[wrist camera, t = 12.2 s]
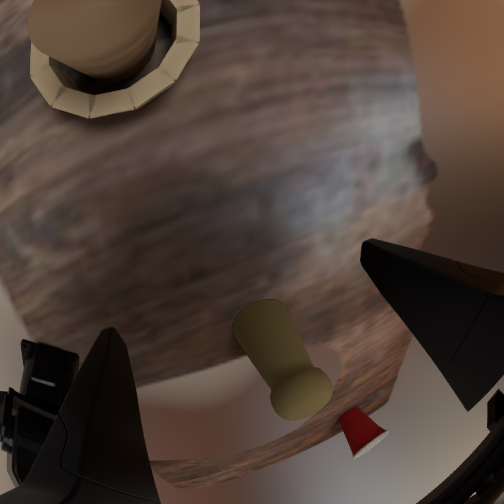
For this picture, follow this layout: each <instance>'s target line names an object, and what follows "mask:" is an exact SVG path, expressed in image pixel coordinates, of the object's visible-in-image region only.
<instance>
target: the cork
mask: <svg viewBox="0 0 504 504" xmlns="http://www.w3.org/2000/svg"><path fill="white" fill-rule="evenodd" d="M232 332H233V334H234V336H235V338H236V339H237V341H238V342H239V344H240V345H241V347H242V348H243V350H244V351H245V353H246V354H247V356H248V357H249V359H250V360H251V362H252V363H253V365H254V366H255V367H256V369H257V370H258V372H259V373H260V375H261V376H262V377H263V379H264V380H265V382H266V383H267V384H268V386H269V387H270V389H271V394H270V399H271V404H272V406H273V408H274V410H275V412H276V413H277V414H278V415H279V416H280V417H282V418H284V419H286V420H299V419H302V418H305V417H308V416H310V415H312V414H314V413H316V412H317V411H319V410H320V409H321V408H323V407H324V406H325V405H326V404H327V403H328V402H329V400H330V398H331V397H332V393H333V385H332V382H331V380H330V378H329V377H328V376H327V374H325V373H324V372H323V371H322V370H321V369H320V368H317V367H314V366H313V364H312V362H311V360H310V358H309V355H308V353H307V351H306V349H305V347H304V345H303V343H302V340H301V338H300V336H299V334H298V332H297V330H296V328H295V325H294V323H293V321H292V319H291V317H290V315H289V313H288V310H287V308H286V307H285V305H284V304H283V303H282V302H280V301H278V300H273V299H265V300H260V301H257V302H255V303H252V304H250V305H248V306H247V307H246V308H244V309H243V310H242V311H241V312H240V313H239V314H238V315H237V316H236V318H235V320H234V322H233V325H232Z"/></svg>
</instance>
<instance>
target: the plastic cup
mask: <svg viewBox="0 0 504 504" xmlns="http://www.w3.org/2000/svg"><path fill="white" fill-rule="evenodd" d="M339 420H340V424H341V426H342V428H343V432H344V434H345V436H346V439H347V441H348V443H349V445H350V449H351V451H352V453H353V459H355V458H357V457H359V456H361V455H362V454H364V453H365V452H367V451H368V450H369V449H371V448H372V447H373V446H375V445H376V444H377V443H378V442H379V441H381V440H382V439H383V438H384V437H385V436H386V435H387V434H388V433H389V431H386V430H384V429H383V428H381V427H380V426H378V425H377V424H376V423H375V422H374V421H373V420H372V419H370V418H369V417H368V416H367V415H366V414H365V413H364V412H363V411H362V410H361V409H360V408H358V407H354V408H352V409H350V410H348V411H347V412H345V413H344V414H343V415H342V416H341V417H340V418H339Z"/></svg>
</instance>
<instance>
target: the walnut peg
mask: <svg viewBox="0 0 504 504" xmlns="http://www.w3.org/2000/svg"><path fill="white" fill-rule="evenodd" d="M161 1H162V0H34V1H33V3H32V6H31V8H30V11H29V16H28V24H27V27H28V34H29V37H30V40H31V42H32V44H33V45H34V46H35V47H36V48H37V49H38V50H39V51H40V52H42V53H43V54H45V55H47V56H49V57H51V58H53V59H56V60H58V61H60V62H62V63H64V64H66V65H68V66H70V67H72V68H74V69H76V70H78V71H80V72H82V73H83V74H85V75H87V76H89V77H91V78H93V79H95V80H97V81H101V82H118V81H122V80H124V79H127V78H129V77H131V76H133V75H134V74H136V73H137V72H139V71H140V70H141V69H142V68H143V67H144V66H145V65H146V64H147V63H148V61H149V60H150V58H151V56H152V54H153V51H154V48H155V42H156V34H157V26H158V19H159V13H160V7H161Z"/></svg>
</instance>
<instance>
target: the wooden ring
mask: <svg viewBox="0 0 504 504" xmlns="http://www.w3.org/2000/svg"><path fill="white" fill-rule="evenodd" d="M160 12H161V13H162V15H163V16H164V17H165V19H166V20H167V21H168V23H169V24H170V26H171V27H172V30H171V48H170V50H169V51H168V53H167V54H166V56H165V58H164V59H163V61H162V63H161V64H160V66H159V68H157V69H156V70H154V71H153V72H151V73H150V74H148V75H147V76H145V77H144V78H142V79H141V80H139V81H138V82H136V83H135V84H134V85H132V86H131V87H129V88H128V89H123V90H118V91H113V92H108V93H104V94H99V95H92V94H89V93H86V92H83V91H80V90H79V89H78V88H77V86H76V85H75V83H74V82H73V81H72V79H71V78H70V76H69V75H68V74H67V72H66V64H64V63H62V62H60V61H58V60H56V59H53V58H51V57H49V56H47V55H45V54H43V53H42V52H40V51H39V50H38V49H37V48H36V47H35V46H34V45H33V44H31V61H30V76H32V77H31V79H32V80H33V82H34V83H35V85H36V86H37V88H38V89H39V91H40V92H41V94H42V95H43V97H44V98H45V99H46V101H47V102H48V104H49V105H50V106H52V107H53V108H56V109H60V110H63V111H66V112H69V113H73V114H76V115H79V116H82V117H85V118H90V119H91V118H97V117H103V116H107V115H112V114H117V113H122V112H127V111H133V110H137V109H139V108H141V107H142V106H144V105H145V104H146V103H148V102H149V101H151V100H152V99H153V98H155V97H156V96H158V95H159V94H161V93H162V92H164V91H165V90H167V89H168V88H170V87H171V86H172V85H173V83H174V82H175V81H176V80H177V78H178V76H179V75H180V73H181V71H182V70H183V68H184V66H185V65H186V63H187V61H188V60H189V58H190V57H191V55H192V53H193V52H194V50H195V49H196V47H197V46H198V44H199V42H200V5H199V2H198V1H197V0H162V1H161V7H160Z"/></svg>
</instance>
